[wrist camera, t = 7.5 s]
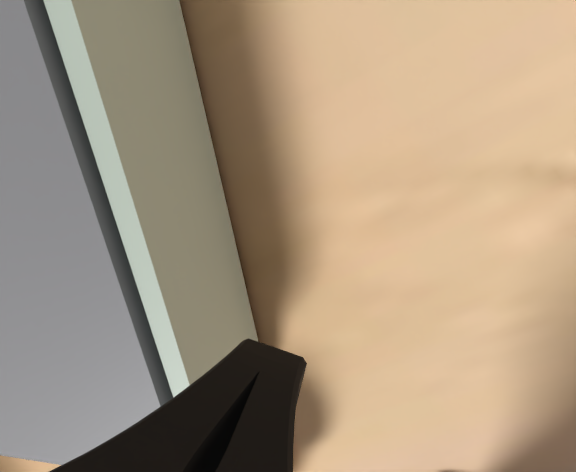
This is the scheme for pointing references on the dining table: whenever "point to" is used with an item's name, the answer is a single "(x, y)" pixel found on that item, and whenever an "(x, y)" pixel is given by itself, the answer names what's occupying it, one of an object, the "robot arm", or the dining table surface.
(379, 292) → the dining table surface
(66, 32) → the door
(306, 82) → the dining table surface
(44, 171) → the cabinet
